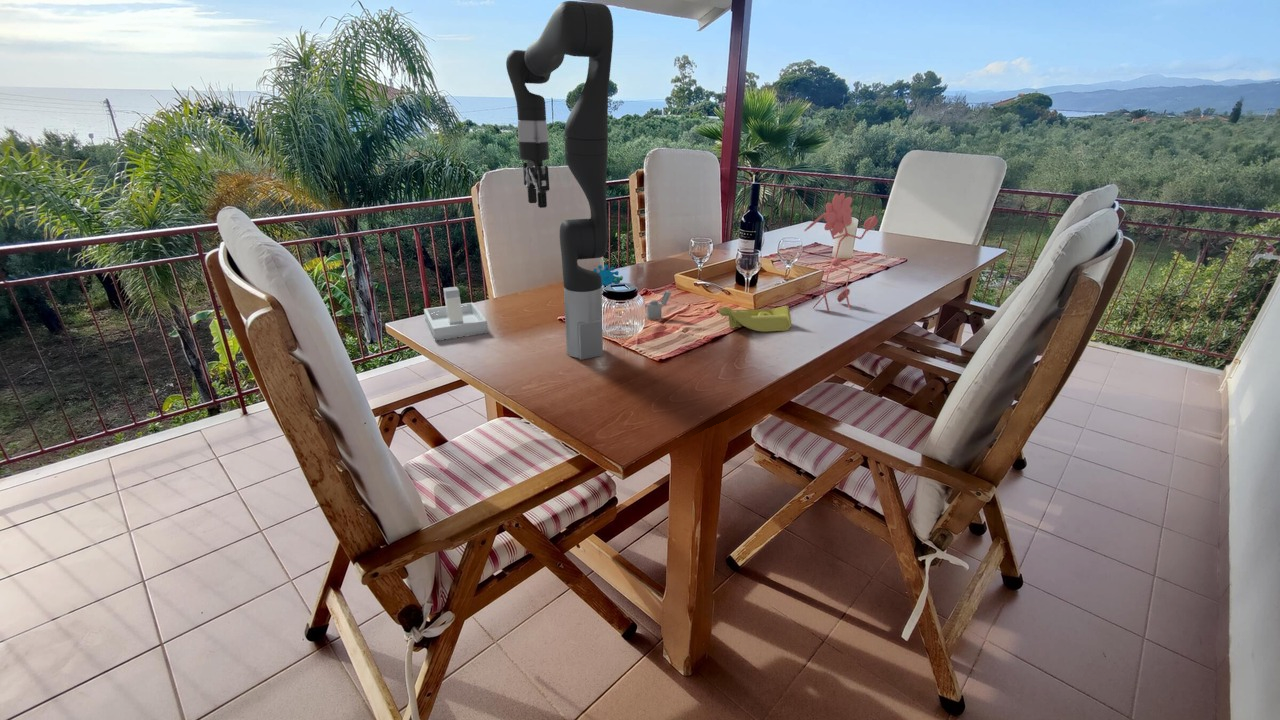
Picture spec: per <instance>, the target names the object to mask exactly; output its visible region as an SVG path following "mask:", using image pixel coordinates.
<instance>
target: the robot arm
mask: <svg viewBox="0 0 1280 720" xmlns="http://www.w3.org/2000/svg"><path fill="white" fill-rule="evenodd" d="M613 22H614V21H613V16H612V12H611V10H610V8H609V7H608V6H607V5H606V4H604V3H599V2H591V1H589V2H588V1H580V0H579V1H577V0H565V1H562V2H561V3H559V4H558V5H557V6H556V8H555V9H554V11H553V12H552V14H551V16H550V18H549V19H548V22H547V23H546V25H545V27H544V29H543V31H542V32H541V34H540V35H539V37H538V38H537V39H535V40H534V41H533V42H532V43H530V44H529V46H528V47H527V48H526V50H521V49H514V50H511V51H510V52H509V53H508V55H507V57H506V63H505V65H506V71H507V76H508V78H509V80H510V84H511V87H512V89H513V93H514V94H513V95H514V98H515V101H516V110H517V112H516V113H517V136H518V137H517V138H518V151H519V159H520V160H521V161H523V162H522V170H523V172H522V173H523V184H524V186H525V188H526V189H527V201H528V203H529V204H536V203H537V206H538V208H540V209H542V208H544V209H546V208H547V206H548V203H547V201H548V200H547V198H548V197H547V193H548V192H549V191H550V179H549V178H550V177H549V176H550V175H549V166H548V165H544V161H547V160H549V158H550V151H549V149H550V147H549V131H548V125H547V113H546V112H547V110H546V100H545V98H544V96H543V95H540V94H536V93H533V92H530V90H529V89H528V88H527V85H526V84H534V85H536V84H537V85H539V84H540V85H542V84H546V83H547V82H549V80H550V77H551V74H552V73H553V72H554V71H556V70H557V69H558V68H559V67H560V66H561V65H562V64H563V62H564V59H565V56H571V57H579V58H580V57H581V58H582V57H583V58H586V57H587V58H588V69H587V75H586V78H585V79H586V80H585V83H584V86H583V87H582V91H581V93H580V95H579V97H578V98H577V100H576V102H575V104H574V106H573V108H572V109H571V111H570V113H569V115H568V117H567V120H566V121H565V126H564V158H565V162H566V165H567V167H568V169H569V171H570V172H571V174H572V175H573V177H574V179H575V180H576V182H577V183H578V184H579V187H580V188H581V189H582V191H583V193H584V195H585V196H586V199H587V201H588V206H589V208H590V217H589V218H574V219H573V218H572V219H565V220H563V221H562V222H561V224H560V226H559V245H560V253H561V254H560V255H561V265H562V278H563V279H562V280H563V281H562V282H563V297H564V298H563V300H564V319H565V320H564V321H565V322H564V324H565V341H566V354H567V355H569V356H570V357H573V358H577V359H579V360H581V361H582V360H587V359H592V358H597V357H602V356H604V347H603V346H604V342H603V341H604V339H603V338H604V337H603V336H604V335H603V333H604V332H603V285H602V278H601V276H600V274H598V273H597V272H598V271H597V272H594V271H593V270H589V269H588V268H587V269H586V268H584V267H581V266H580V265H579V264H578V261H579V260H591V259H592V260H593V259H600V258H603V257H605V255H606V253H607V250H608V241H609V240H608V239H609V237H608V235H609V233H608V213H607V211H608V209H607V168H608V145H609V144H608V142H609V141H608V140H609V137H608V136H609V133H608V132H609V131H608V130H609V127H608V126H609V125H608V123H609V122H608V120H609V119H608V118H609V114H608V113H609V91H610V89H609V88H610V77H611V67H612V66H611V65H612V57H613V45H614V43H613V42H614V23H613ZM525 161H526V162H525Z"/></svg>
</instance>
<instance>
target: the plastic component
mask: <svg viewBox="0 0 1280 720" xmlns="http://www.w3.org/2000/svg"><path fill="white" fill-rule="evenodd" d="M718 313H719V314H720V316H722V317H728V325H729V328H730V329H733V328H732V327H739V328H742V326H743V327H746V328H747V329H749V330H752V331H755V332H764V333H766V332H786V331H788V330H790V328H791V326H792V319H791V318H792V317H791V312H790V308H789V306H788V305H784V306H779V307H774V308H768V309H765V308H764V309H762V308H760V309H731V307H729V306H723V307H720V308H718Z"/></svg>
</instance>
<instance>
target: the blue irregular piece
mask: <svg viewBox="0 0 1280 720" xmlns="http://www.w3.org/2000/svg"><path fill="white" fill-rule="evenodd" d="M602 268H603V266H602V264H601V265H600V264H599V265H598V266H597V268H593V270H592V271H594V272H597V273H598V274H600V276H601V278H602V286H603V287H605V286H607V285H608V286H610V285H609V284H618V285H619V284H620V283H621V281H623V280H624V276H622V275H620V276H619V270H616V271H615V267H614V266H611V267H610V268H609V264H606V263H605V264H604V268H603V269H602ZM598 270H599V271H598ZM608 286H607V287H608Z"/></svg>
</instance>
